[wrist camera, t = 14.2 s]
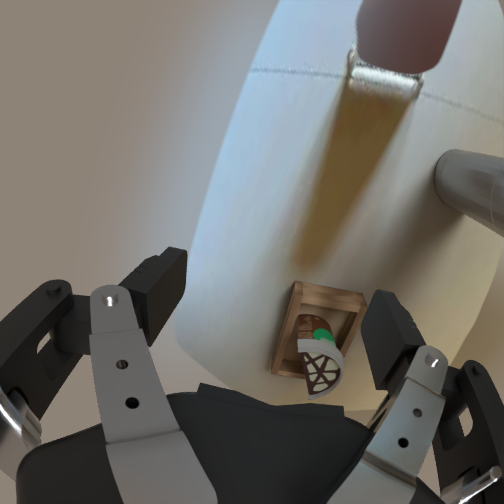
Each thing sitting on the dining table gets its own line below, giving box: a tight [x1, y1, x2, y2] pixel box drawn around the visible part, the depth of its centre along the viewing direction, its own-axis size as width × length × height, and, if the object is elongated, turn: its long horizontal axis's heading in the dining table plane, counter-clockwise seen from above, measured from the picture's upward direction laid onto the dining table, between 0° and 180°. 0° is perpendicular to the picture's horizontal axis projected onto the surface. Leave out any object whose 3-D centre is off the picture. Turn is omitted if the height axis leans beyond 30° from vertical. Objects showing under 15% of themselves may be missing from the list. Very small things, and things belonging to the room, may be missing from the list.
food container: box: [298, 314, 344, 400], centre depth 40 cm, size 12×6×10 cm, turn 15°
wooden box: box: [271, 281, 368, 379], centre depth 44 cm, size 11×17×4 cm, turn 171°
